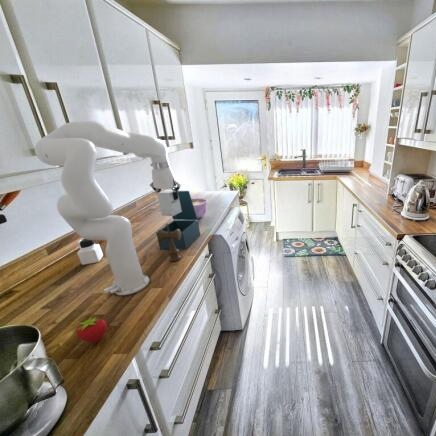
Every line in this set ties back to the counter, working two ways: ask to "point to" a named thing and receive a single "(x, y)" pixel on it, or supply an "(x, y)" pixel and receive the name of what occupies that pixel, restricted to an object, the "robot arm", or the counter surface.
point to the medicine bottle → (89, 251)
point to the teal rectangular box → (187, 233)
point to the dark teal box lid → (185, 207)
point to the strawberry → (92, 330)
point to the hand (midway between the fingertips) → (168, 199)
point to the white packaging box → (168, 203)
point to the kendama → (170, 241)
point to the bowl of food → (200, 206)
